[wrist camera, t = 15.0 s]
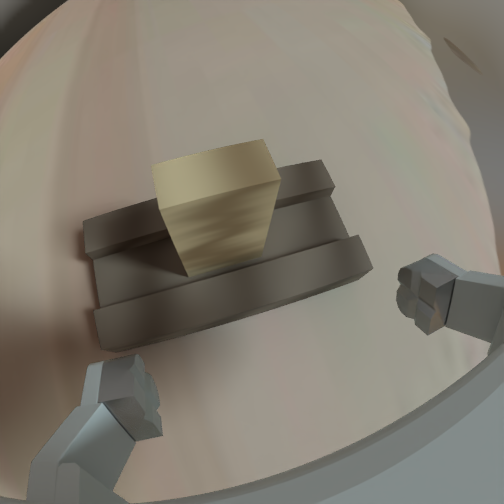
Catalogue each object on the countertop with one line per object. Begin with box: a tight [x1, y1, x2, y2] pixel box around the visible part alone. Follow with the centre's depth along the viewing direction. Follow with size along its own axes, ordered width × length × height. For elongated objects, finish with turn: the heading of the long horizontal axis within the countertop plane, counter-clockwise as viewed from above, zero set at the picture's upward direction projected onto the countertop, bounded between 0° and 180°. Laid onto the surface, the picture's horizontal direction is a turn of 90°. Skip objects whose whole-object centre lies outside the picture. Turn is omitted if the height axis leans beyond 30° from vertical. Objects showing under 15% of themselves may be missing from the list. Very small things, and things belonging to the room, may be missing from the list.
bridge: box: [83, 160, 373, 352], centre depth 23 cm, size 20×10×3 cm, turn 108°
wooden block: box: [151, 139, 281, 277], centre depth 18 cm, size 6×2×10 cm, turn 108°
